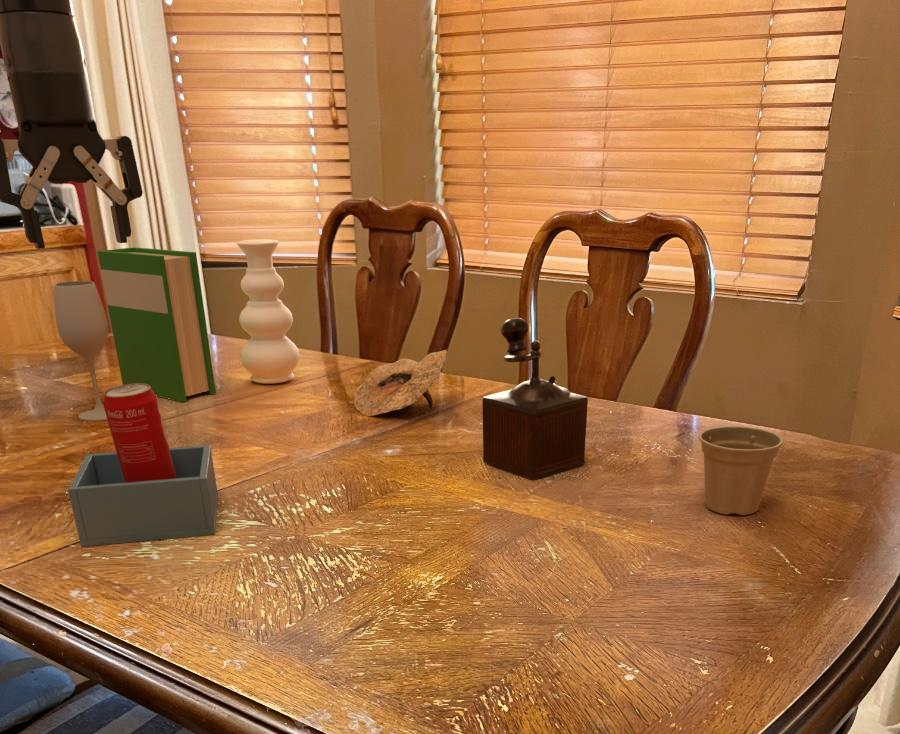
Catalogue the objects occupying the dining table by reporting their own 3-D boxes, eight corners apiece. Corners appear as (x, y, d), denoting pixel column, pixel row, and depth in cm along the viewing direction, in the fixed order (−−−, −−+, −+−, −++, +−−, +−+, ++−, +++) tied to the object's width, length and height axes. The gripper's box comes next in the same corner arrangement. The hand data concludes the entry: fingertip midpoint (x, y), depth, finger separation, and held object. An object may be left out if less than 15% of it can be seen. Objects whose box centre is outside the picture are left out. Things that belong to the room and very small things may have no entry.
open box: (81, 547, 96) (67, 489, 93) (97, 506, 107) (86, 454, 104) (215, 534, 98) (206, 478, 95) (218, 496, 109) (210, 444, 106)
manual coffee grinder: (590, 463, 119) (598, 328, 110) (532, 481, 112) (536, 340, 104) (514, 438, 129) (516, 314, 121) (457, 453, 123) (455, 324, 115)
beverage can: (192, 511, 103) (171, 386, 96) (142, 527, 99) (116, 397, 92) (167, 499, 106) (145, 378, 99) (118, 514, 102) (91, 388, 95)
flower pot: (679, 512, 102) (687, 442, 98) (703, 488, 109) (712, 421, 105) (760, 527, 98) (772, 454, 94) (779, 501, 105) (791, 432, 101)
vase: (233, 380, 165) (214, 240, 153) (281, 371, 171) (267, 236, 160) (263, 390, 158) (246, 244, 146) (312, 380, 164) (300, 239, 153)
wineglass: (74, 423, 141) (44, 288, 131) (80, 411, 147) (52, 281, 137) (122, 419, 142) (96, 285, 132) (126, 407, 149) (102, 279, 139)
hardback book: (215, 393, 156) (195, 252, 145) (182, 402, 151) (158, 256, 140) (157, 380, 166) (134, 247, 155) (123, 388, 161) (97, 251, 150)
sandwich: (356, 450, 146) (333, 412, 142) (383, 408, 156) (362, 371, 152) (447, 421, 137) (426, 379, 133) (469, 378, 147) (450, 338, 143)
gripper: (111, 75, 92) (139, 239, 100) (-36, 71, 85) (5, 247, 93) (128, 69, 86) (157, 243, 94) (-28, 65, 80) (16, 253, 87)
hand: (81, 245), depth 93 cm, fingers open, 8 cm apart
